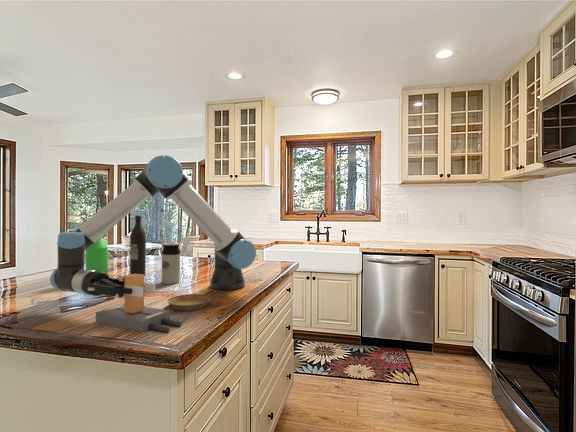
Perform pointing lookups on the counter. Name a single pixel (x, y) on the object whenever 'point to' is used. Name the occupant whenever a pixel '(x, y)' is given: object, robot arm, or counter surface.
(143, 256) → the wine bottle
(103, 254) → the bottle
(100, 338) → the counter surface
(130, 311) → the breaker handle
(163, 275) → the travel mug
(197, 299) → the plant saucer
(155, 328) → the switch box
